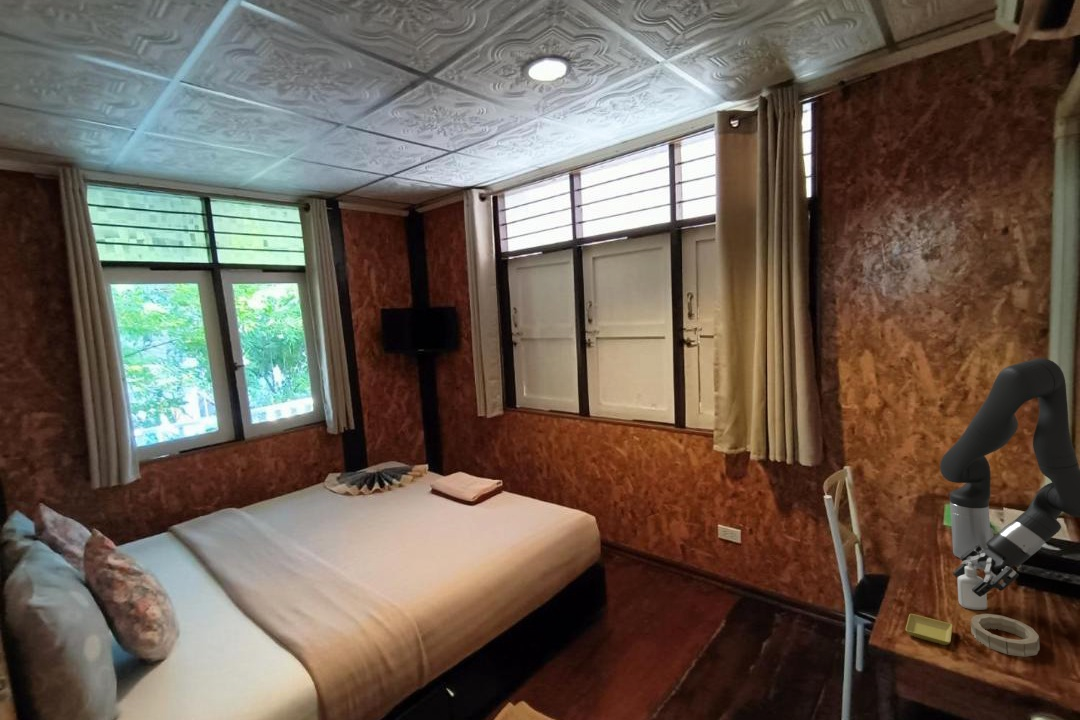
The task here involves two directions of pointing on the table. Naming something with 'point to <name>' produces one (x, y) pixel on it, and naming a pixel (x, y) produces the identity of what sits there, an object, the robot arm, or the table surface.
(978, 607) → the eye dropper bottle
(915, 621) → the yellow square tray
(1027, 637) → the birch ring collar
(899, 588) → the table surface
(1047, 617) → the table surface
